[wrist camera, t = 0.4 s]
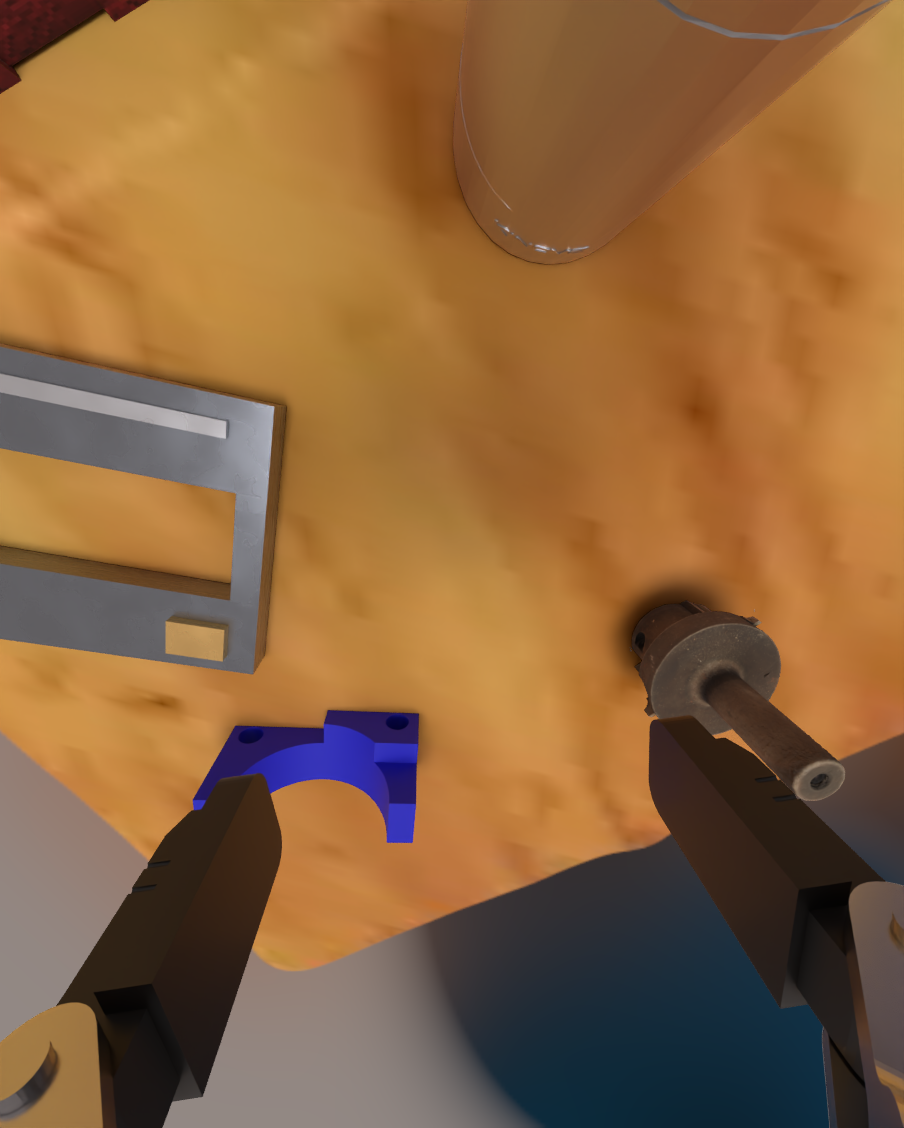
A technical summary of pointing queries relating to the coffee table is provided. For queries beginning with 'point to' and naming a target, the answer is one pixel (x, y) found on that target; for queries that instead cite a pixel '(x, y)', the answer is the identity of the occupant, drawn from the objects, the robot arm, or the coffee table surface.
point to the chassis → (156, 449)
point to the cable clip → (333, 760)
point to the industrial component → (728, 689)
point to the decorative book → (44, 26)
